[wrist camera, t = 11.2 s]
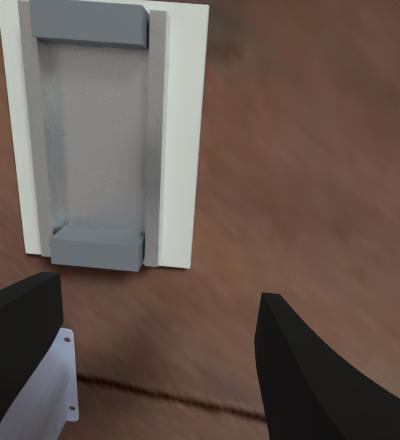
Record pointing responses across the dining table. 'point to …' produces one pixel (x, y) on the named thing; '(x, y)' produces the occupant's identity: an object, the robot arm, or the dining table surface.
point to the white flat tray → (106, 127)
